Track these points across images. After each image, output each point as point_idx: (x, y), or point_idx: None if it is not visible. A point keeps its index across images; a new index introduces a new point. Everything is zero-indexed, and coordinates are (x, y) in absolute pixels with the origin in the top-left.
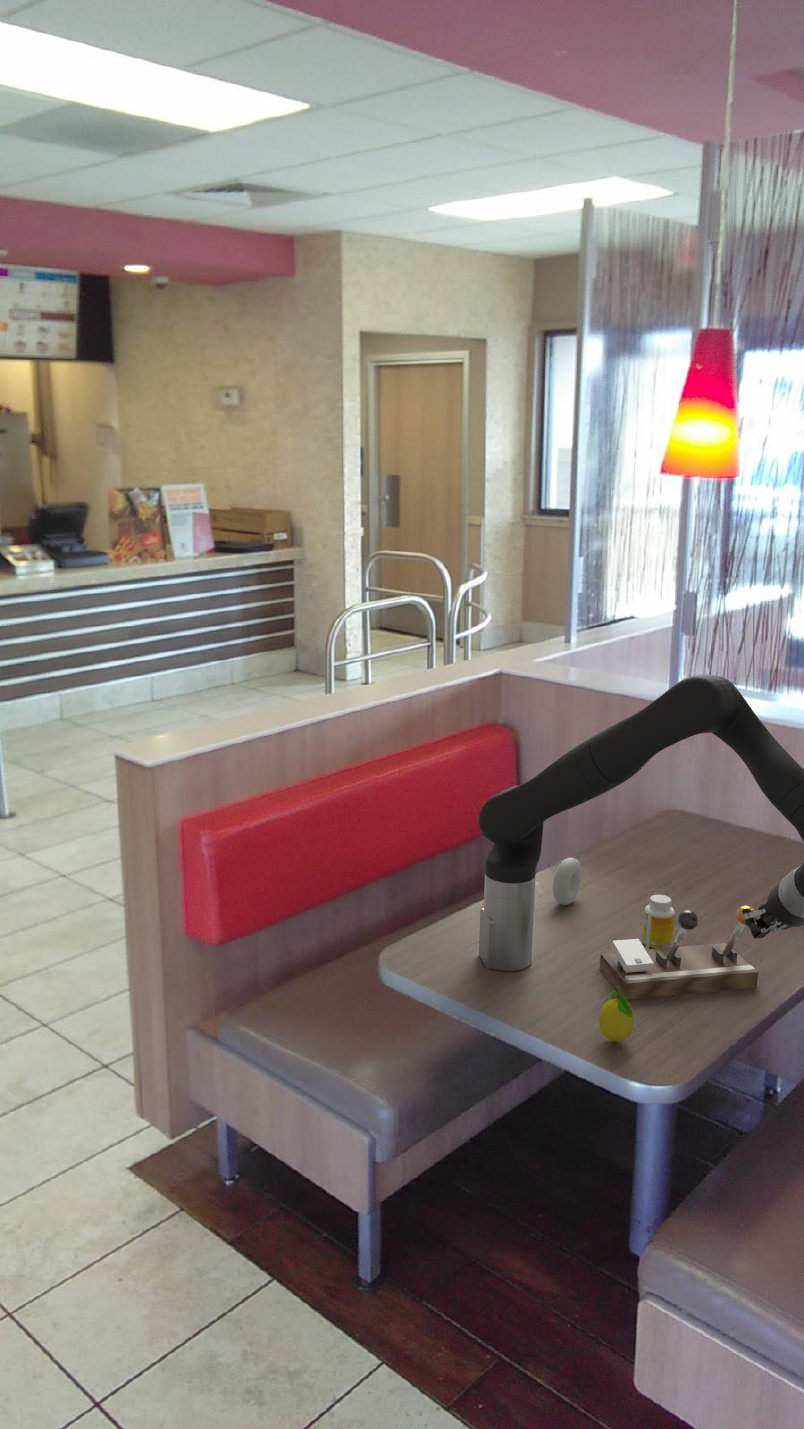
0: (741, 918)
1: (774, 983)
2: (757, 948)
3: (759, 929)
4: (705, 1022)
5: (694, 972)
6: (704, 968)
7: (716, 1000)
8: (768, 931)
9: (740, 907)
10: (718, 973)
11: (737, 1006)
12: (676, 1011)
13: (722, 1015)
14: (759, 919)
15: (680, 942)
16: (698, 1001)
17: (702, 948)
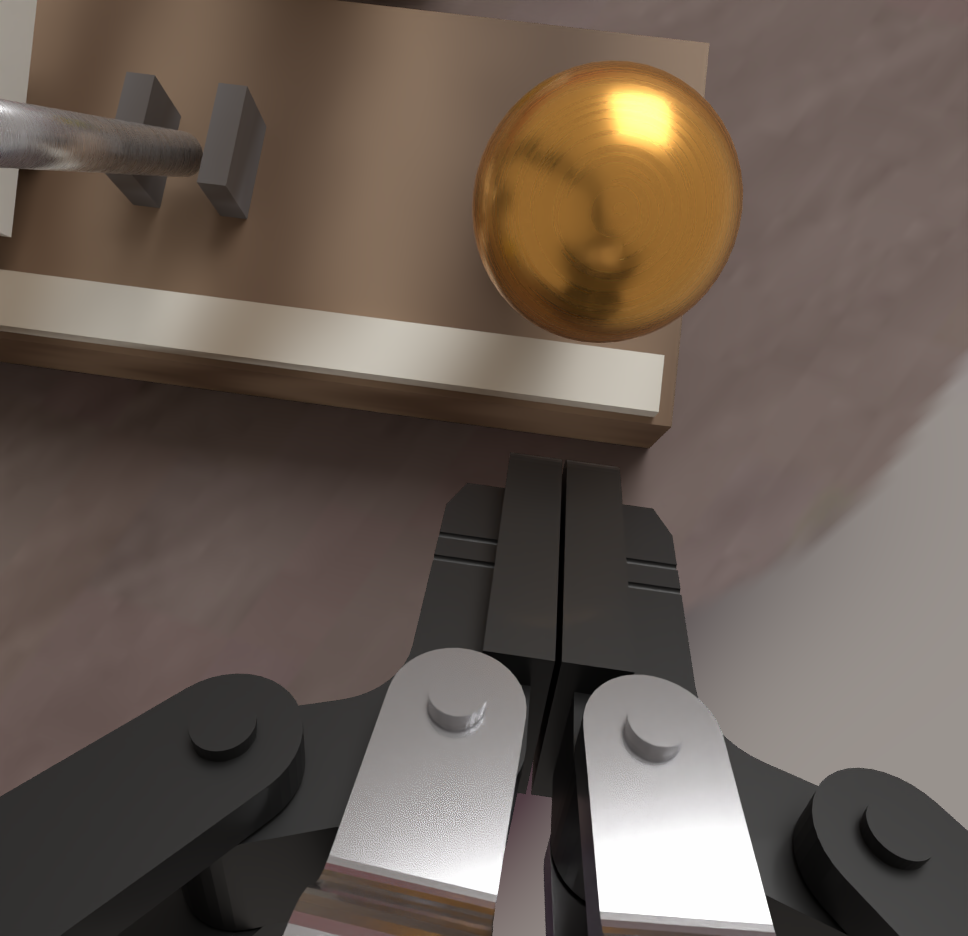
0: (485, 261)
1: (779, 435)
2: (928, 69)
3: (277, 930)
4: (128, 695)
5: (249, 333)
6: (373, 283)
7: (342, 501)
8: (549, 794)
9: (549, 87)
10: (400, 379)
11: (412, 597)
12: (58, 538)
13: (267, 658)
14: (333, 837)
15: (67, 169)
16: (241, 480)
17: (523, 63)
